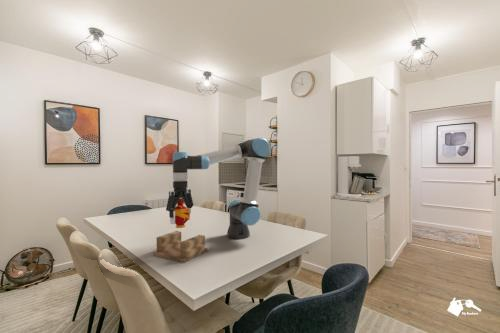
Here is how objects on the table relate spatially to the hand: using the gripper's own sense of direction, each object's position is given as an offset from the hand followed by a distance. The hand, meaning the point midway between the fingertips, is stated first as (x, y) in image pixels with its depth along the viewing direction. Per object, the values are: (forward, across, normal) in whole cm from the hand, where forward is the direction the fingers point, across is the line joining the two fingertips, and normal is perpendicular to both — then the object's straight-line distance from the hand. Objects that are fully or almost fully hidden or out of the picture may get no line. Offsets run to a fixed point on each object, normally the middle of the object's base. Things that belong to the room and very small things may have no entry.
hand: (180, 221), depth 128 cm
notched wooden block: (+17, 0, 0) cm, 17 cm away
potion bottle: (+3, 0, 0) cm, 3 cm away
